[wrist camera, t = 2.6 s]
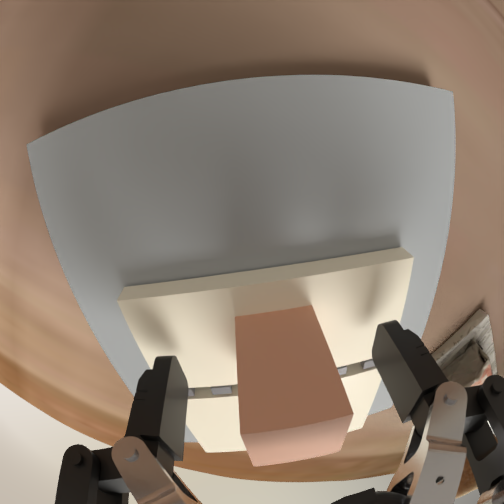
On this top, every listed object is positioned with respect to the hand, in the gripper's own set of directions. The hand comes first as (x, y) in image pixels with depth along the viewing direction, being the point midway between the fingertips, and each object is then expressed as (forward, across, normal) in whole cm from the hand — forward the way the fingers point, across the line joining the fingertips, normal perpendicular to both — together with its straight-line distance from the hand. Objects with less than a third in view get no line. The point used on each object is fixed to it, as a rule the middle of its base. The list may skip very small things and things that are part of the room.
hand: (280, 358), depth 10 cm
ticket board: (+4, 0, +2) cm, 4 cm away
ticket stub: (+2, 0, 0) cm, 2 cm away
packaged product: (+4, -19, +15) cm, 24 cm away
